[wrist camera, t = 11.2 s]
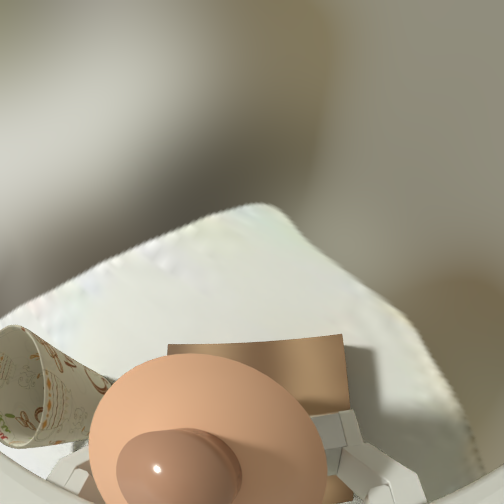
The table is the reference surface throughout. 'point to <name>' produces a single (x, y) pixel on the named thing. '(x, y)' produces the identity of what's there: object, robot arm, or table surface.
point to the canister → (204, 437)
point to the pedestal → (296, 378)
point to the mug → (44, 392)
